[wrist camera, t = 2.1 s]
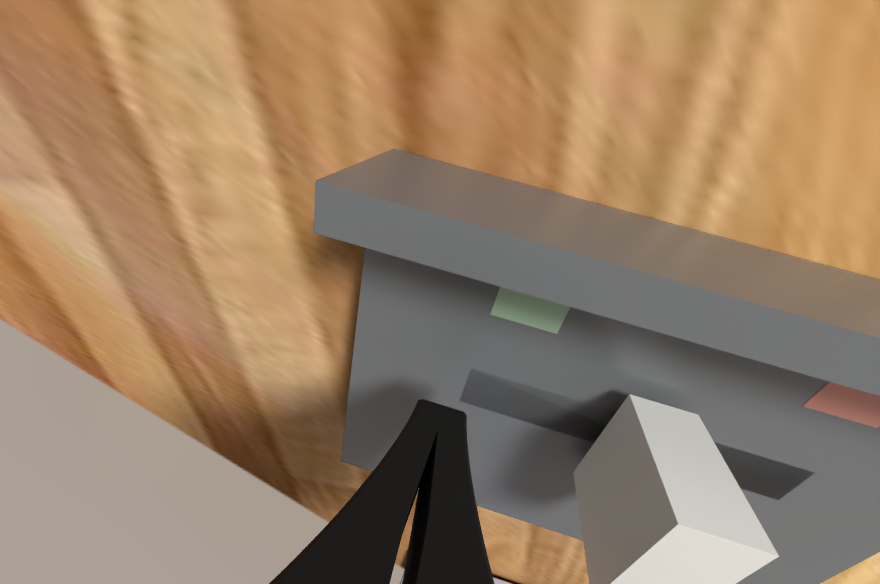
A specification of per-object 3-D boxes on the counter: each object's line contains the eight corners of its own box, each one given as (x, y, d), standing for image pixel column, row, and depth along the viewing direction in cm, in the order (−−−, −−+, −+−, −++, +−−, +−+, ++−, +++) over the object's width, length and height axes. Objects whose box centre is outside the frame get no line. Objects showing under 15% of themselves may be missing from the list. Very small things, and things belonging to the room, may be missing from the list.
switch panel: (757, 562, 15) (837, 717, 12) (354, 433, 17) (305, 534, 13) (1104, 340, 9) (1555, 526, 5) (393, 148, 10) (315, 180, 6)
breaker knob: (629, 490, 12) (668, 625, 9) (573, 472, 12) (592, 599, 9) (698, 414, 10) (779, 556, 7) (629, 394, 10) (678, 523, 7)
